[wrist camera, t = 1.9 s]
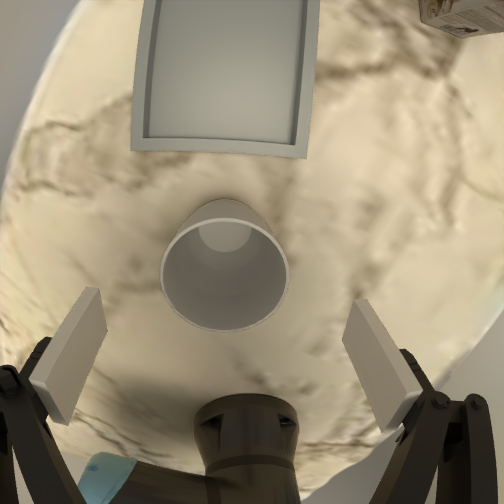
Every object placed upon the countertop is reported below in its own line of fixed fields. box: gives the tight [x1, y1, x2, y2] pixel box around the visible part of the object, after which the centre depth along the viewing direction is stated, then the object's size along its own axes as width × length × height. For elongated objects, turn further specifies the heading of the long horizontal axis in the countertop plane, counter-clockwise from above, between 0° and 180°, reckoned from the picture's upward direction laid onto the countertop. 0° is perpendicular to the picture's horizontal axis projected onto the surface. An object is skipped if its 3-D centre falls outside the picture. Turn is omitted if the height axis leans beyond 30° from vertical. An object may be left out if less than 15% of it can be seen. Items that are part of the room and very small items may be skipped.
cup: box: [160, 199, 289, 332], centre depth 24 cm, size 8×8×10 cm
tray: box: [131, 0, 320, 159], centre depth 21 cm, size 18×14×2 cm
